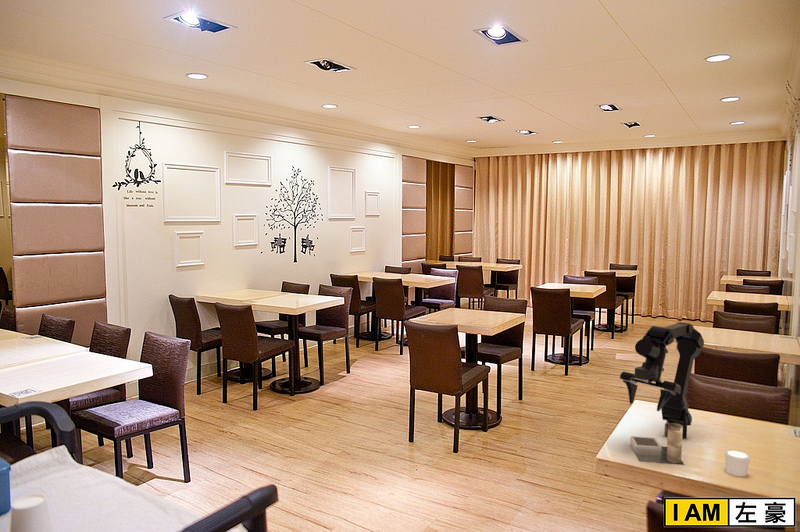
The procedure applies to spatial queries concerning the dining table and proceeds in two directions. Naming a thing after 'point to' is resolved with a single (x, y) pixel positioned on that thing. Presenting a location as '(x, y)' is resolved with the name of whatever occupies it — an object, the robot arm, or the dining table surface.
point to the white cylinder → (737, 462)
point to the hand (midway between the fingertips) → (644, 407)
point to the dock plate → (649, 450)
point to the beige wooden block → (674, 442)
